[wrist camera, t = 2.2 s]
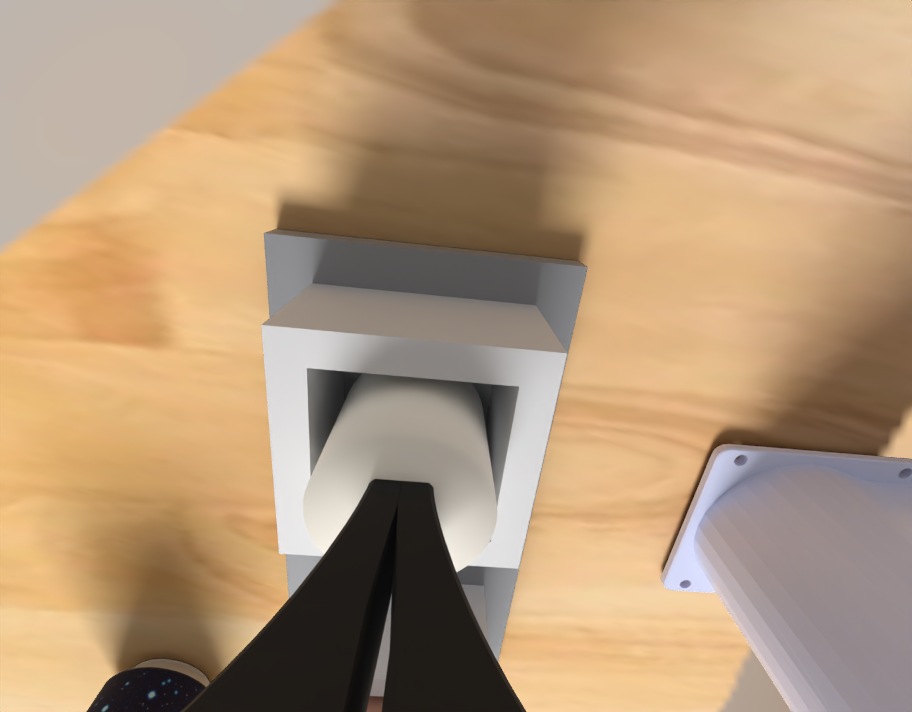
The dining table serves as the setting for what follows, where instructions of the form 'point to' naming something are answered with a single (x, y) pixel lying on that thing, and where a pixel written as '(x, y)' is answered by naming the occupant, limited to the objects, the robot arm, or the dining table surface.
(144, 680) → the beverage can
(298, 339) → the plug panel
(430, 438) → the cream plug
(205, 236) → the dining table surface
